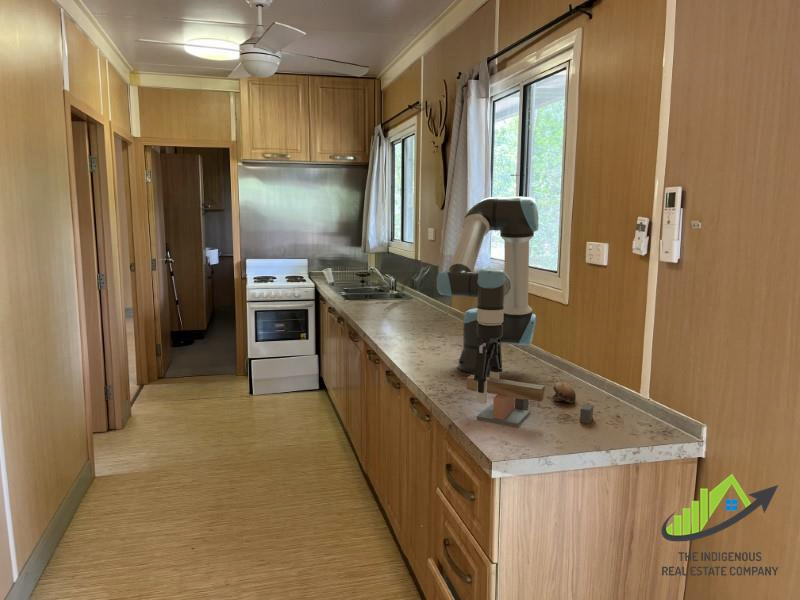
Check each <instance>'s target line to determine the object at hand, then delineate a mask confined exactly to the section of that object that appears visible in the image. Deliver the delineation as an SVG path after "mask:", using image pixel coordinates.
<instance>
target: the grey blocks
mask: <svg viewBox="0 0 800 600" xmlns="http://www.w3.org/2000/svg"><path fill="white" fill-rule="evenodd" d="M514 408H516V409H522V410H527V409H528V408H529V400H527V399H521V398H515V402H514ZM579 414H580V415H579V423H583V424H588V425H589V424H591V422H592V421H593V418H594V404H589V403H583V404H582V406H581V408H580V413H579Z"/></svg>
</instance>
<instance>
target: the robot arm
mask: <svg viewBox="0 0 800 600" xmlns="http://www.w3.org/2000/svg"><path fill="white" fill-rule="evenodd" d="M461 226H462V232H461V235H460V237H459V241H458V243H457V246H456V249H455V251H454V253H453V256H452V260H451V262H450V264H449V268H448V270H442V271H441V270H440V272H438V273H437V278H436V289H437V292H438V294H440V295H441V296H449V297H472V298H473V297H474V298H477V307H476V308H475V307H474V308H470V309H468V310H466V311H465V312H464V315H463V321H462V323H463V340H462V341H463V342H462V343H463V345H462V346H463V347H462V350H461V353H460V357H459V359H458V363H457V367H458V369H459V370H460V371H462V370H463V371H462V372H465V371H466V373H470V374H473V375H474V380H475V381H477V391H476V403H477V404H478V403H479V404H483V405H484V404H485V405H486V404H487V400H488V398H487V395H488V393H487V381H486V377H488V376H487V375H488V374H489V377H490V378H497V379H500V373H502V372H503V360H502V357H503V356H502V345H503V344H504V345H515V346H528V345H530V344H531V343H532V341H533V338H534V335H535V329H536V324H537V315H536V314H534V313H533V308H532V307H531V306H530V305H529V274H530V273H529V272H530V271H529V269H530V262H529V261H530V240H532V238H533V237H534V236H535V235H534V234H535V232H537V231H538V230H539V212H538V205H537V203H536V199H534V198H532V197H528V196H527V197H526V196H508V197H507V196H505V197H503V196H501V197H497V196H494V197H493V196H492V197H487V198H484V199H482V200H480V201H479V202H477V203H476V204H474V205H473V206H472V207H471V208H470V209H469V210H468V211H467V213H466V214H465V216H464V218H463V220H462V225H461ZM490 231H499V232H500V235H499V236H500V237H501V238H502V239H503V240H504V262H503V263H504V265H503V266H504V270H502V269H499V268H483V269H480V270H479V271H478V272H474V269H475V267H476V266H475V265H476V262H477V259H478V256H479V254H480V251H481V250H480V249H481V247H482V244H483V241H484V238H485V237H486V235H488V233H489V232H490Z"/></svg>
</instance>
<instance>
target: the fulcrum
mask: <svg viewBox="0 0 800 600" xmlns="http://www.w3.org/2000/svg"><path fill="white" fill-rule="evenodd" d="M530 415H531V410H527V409H526V410H522V409H516V408H515V397H509V396H503V395H497V394H495V396H494V397H493V404H492V403H491V404H490V405H489V406H488V407H486V408H485V409H484V410H482V411H481V412H480V413H479V414H478V415H477V416H476V420H478V421H483V422H487V423H493V424H498V425H504V426H508V427H509V426H510V427H514V428H519V426H520V425H521V424H522V423H523V422H524V421H525V420H526V419H527V418H528V417H529V416H530Z"/></svg>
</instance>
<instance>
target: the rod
mask: <svg viewBox="0 0 800 600" xmlns="http://www.w3.org/2000/svg"><path fill="white" fill-rule="evenodd" d="M486 381H487V394H493V395H503V396H509V397H515V398H521V399H527V400H528V401H535V402H543V400H544V399H545V391H546V389H545V387H546V385H543V384H535V383H530V382H529V383H528V382H522V381H515V380H509V379H503V378H502V379H501V378H499V379H497V378H490V376H487V377H486ZM467 390H468V391H472V392H473V391H474V392H477V381H475V380H474V374H470V375H469V376H468V377H466V391H467Z"/></svg>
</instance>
